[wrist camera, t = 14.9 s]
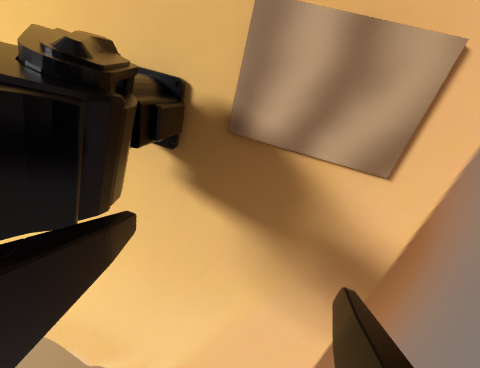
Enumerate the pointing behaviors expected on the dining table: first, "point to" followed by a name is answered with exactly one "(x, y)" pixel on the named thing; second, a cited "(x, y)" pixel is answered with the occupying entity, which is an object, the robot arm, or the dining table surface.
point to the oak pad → (337, 83)
